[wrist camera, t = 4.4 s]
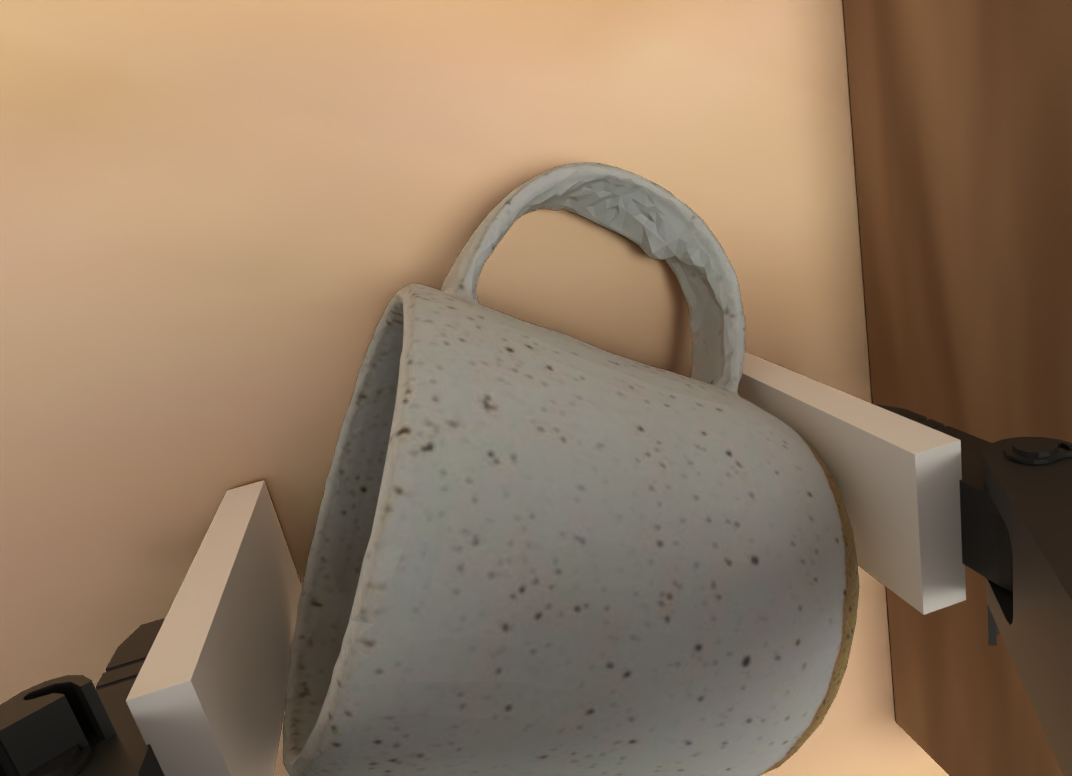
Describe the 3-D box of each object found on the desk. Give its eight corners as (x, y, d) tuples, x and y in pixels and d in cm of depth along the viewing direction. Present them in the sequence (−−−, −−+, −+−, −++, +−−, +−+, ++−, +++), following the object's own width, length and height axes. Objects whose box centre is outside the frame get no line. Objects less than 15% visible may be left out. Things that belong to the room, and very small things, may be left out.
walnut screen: (896, 722, 21) (1092, 917, 15) (840, -43, 15) (1125, -189, 9) (941, 705, 21) (1151, 891, 15) (903, -55, 15) (1219, -205, 10)
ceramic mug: (628, 647, 18) (805, 940, 11) (294, 598, 16) (236, 927, 9) (771, 234, 16) (1097, 254, 9) (420, 112, 14) (481, 7, 7)
